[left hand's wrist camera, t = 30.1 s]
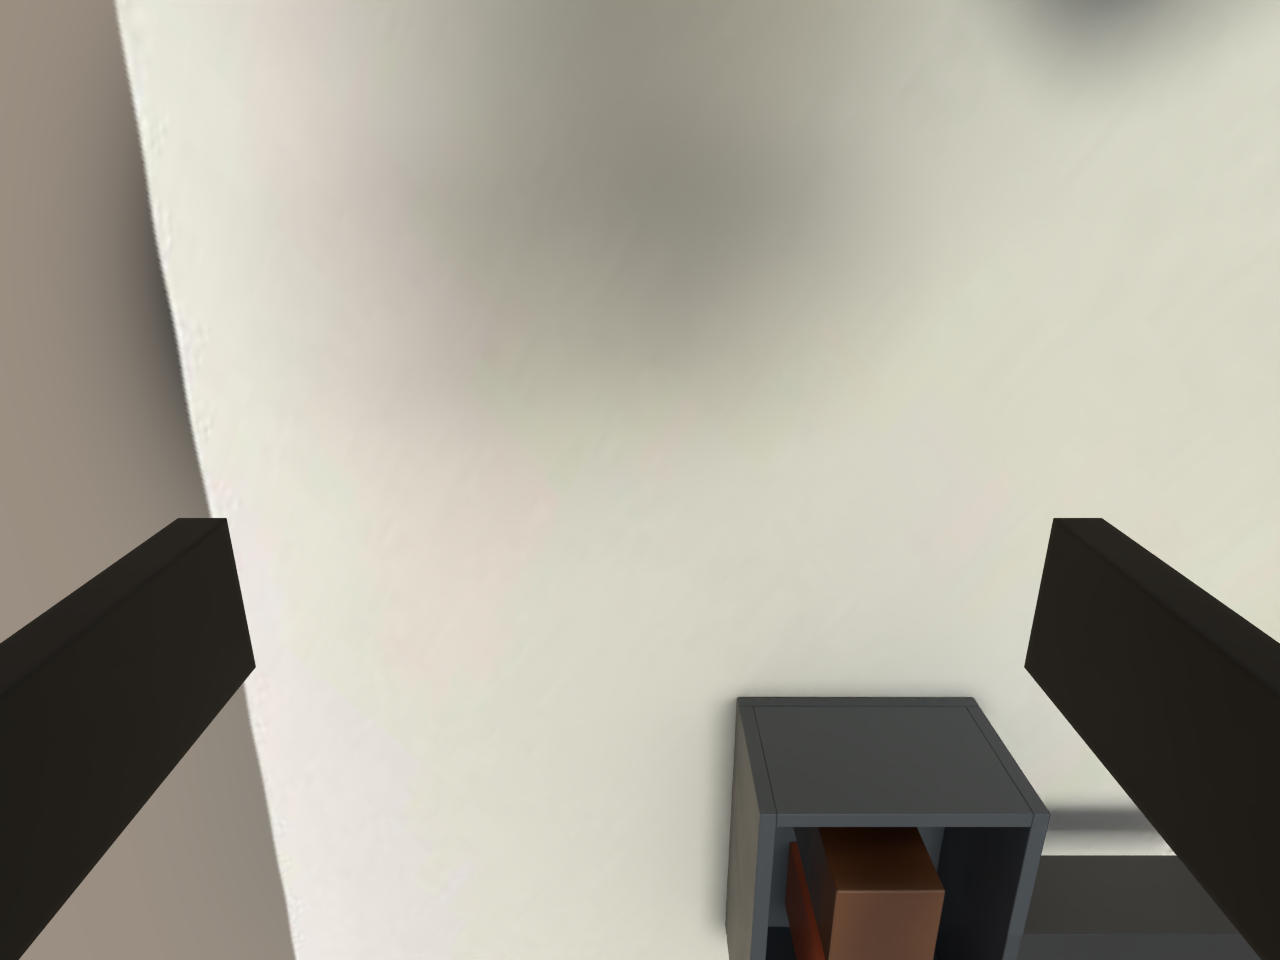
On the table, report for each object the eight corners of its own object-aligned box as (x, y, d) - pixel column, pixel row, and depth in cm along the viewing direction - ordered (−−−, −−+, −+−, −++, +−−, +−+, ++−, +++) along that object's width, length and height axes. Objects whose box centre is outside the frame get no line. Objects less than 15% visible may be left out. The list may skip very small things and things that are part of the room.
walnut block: (789, 814, 47) (827, 970, 38) (795, 746, 45) (836, 891, 36) (873, 814, 47) (931, 970, 38) (882, 746, 45) (946, 891, 36)
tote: (725, 925, 51) (742, 1070, 43) (737, 697, 45) (759, 814, 37) (1143, 925, 51) (1243, 1070, 43) (1212, 697, 45) (1344, 814, 37)
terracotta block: (784, 903, 49) (818, 1070, 40) (789, 841, 48) (826, 1001, 38) (863, 903, 49) (916, 1070, 40) (872, 841, 48) (929, 1001, 38)
